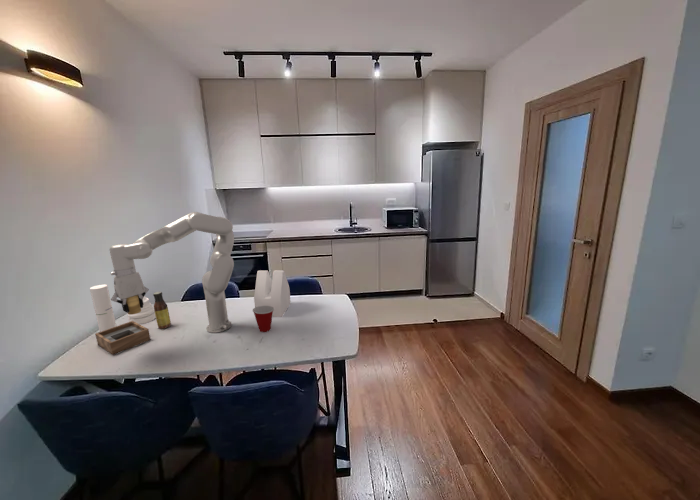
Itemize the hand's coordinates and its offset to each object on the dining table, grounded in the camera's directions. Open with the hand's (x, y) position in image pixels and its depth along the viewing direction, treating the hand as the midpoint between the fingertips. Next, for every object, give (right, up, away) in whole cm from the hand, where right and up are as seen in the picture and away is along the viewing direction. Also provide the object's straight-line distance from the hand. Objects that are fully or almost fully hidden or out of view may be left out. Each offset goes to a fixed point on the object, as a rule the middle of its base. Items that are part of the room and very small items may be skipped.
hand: (134, 309), depth 137 cm
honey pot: (-22, -14, +37) cm, 45 cm away
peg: (0, -1, 0) cm, 2 cm away
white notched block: (+53, -10, +45) cm, 70 cm away
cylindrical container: (-32, -17, +26) cm, 44 cm away
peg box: (-14, -19, +12) cm, 26 cm away
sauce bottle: (-3, -15, +28) cm, 32 cm away
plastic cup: (+55, -15, +21) cm, 60 cm away
